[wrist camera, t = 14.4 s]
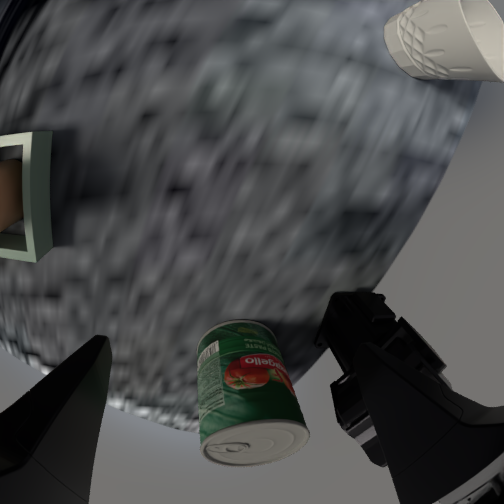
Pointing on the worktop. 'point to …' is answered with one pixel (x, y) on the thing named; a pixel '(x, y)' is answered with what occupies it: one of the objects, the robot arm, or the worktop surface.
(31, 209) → the dish rack
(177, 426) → the worktop surface
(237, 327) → the canned tomato
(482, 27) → the white cup
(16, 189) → the orange rounded blob
